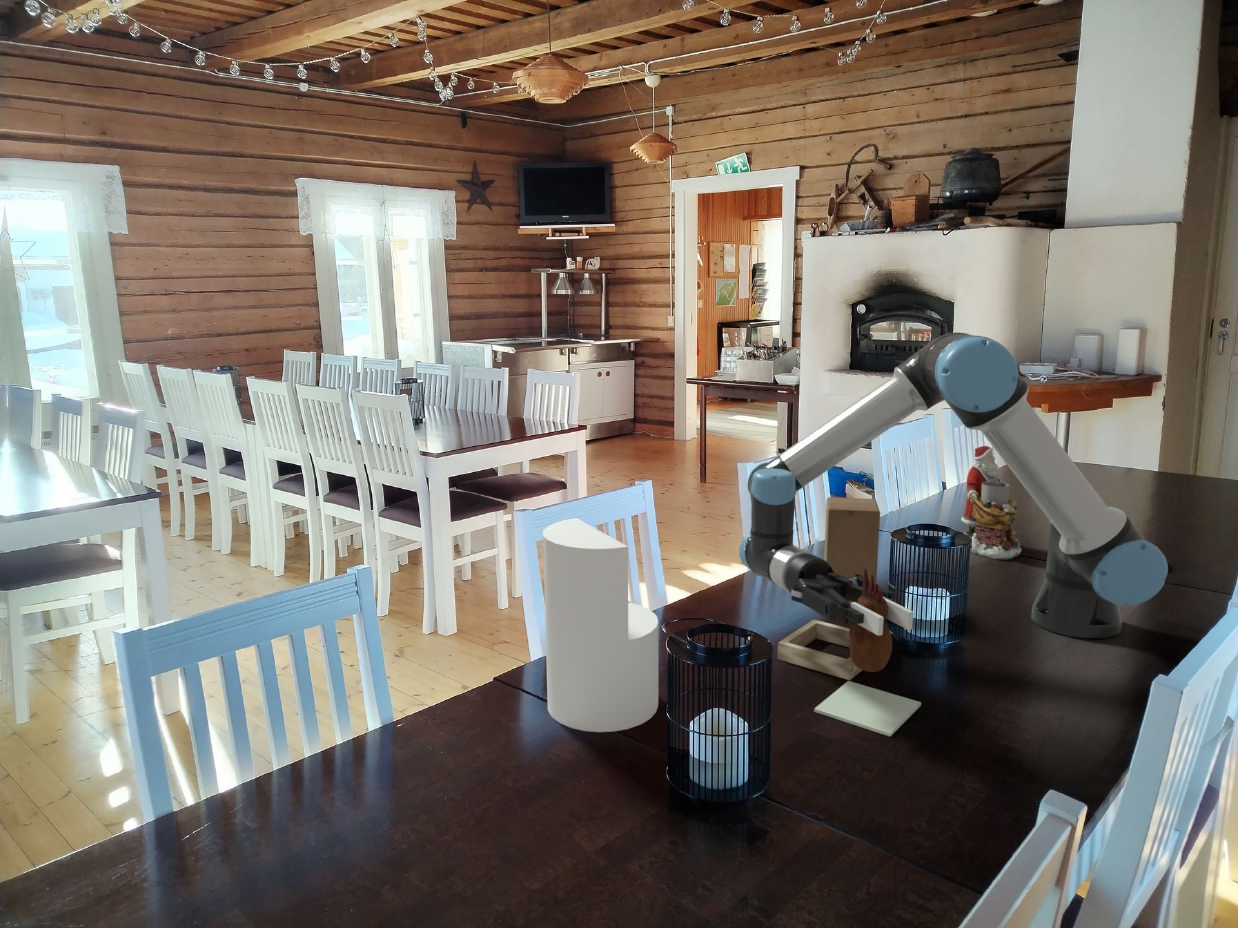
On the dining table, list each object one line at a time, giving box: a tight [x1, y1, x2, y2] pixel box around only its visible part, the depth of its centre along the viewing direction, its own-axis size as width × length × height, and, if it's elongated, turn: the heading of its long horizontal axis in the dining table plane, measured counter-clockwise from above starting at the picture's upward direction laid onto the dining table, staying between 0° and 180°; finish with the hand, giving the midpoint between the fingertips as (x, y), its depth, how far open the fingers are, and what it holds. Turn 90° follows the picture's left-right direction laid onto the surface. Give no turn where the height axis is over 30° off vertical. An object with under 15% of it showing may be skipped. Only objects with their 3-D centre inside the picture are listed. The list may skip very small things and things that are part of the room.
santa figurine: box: [960, 445, 1023, 560], centre depth 210 cm, size 17×14×25 cm
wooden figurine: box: [848, 569, 893, 673], centre depth 132 cm, size 7×6×15 cm
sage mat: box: [813, 680, 922, 737], centre depth 135 cm, size 12×12×1 cm
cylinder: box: [542, 517, 659, 733], centre depth 134 cm, size 17×17×28 cm
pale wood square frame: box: [776, 619, 863, 681], centre depth 153 cm, size 13×13×3 cm
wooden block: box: [823, 496, 881, 606], centre depth 179 cm, size 10×10×20 cm
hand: (895, 623), depth 127 cm, fingers closed on wooden figurine, 5 cm apart
